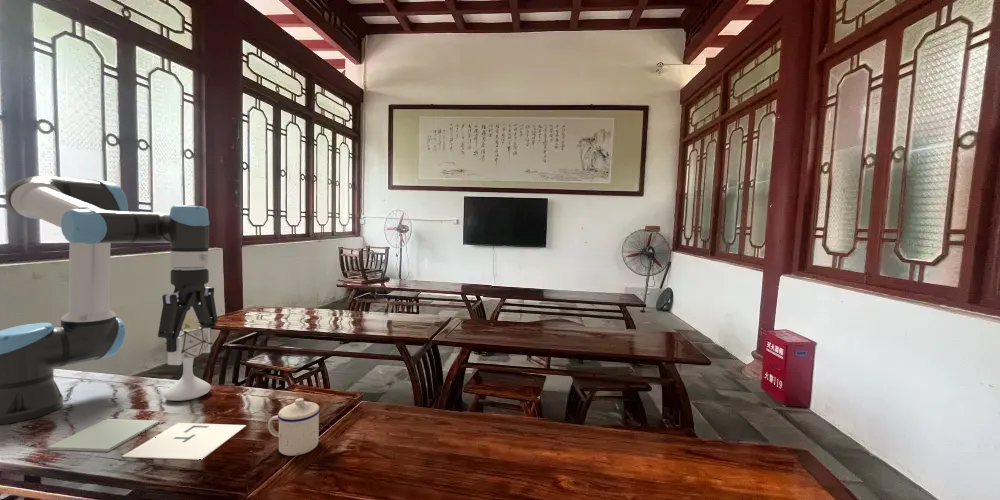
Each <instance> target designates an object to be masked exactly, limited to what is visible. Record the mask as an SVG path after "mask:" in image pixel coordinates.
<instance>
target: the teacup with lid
mask: <svg viewBox="0 0 1000 500" xmlns="http://www.w3.org/2000/svg"><path fill="white" fill-rule="evenodd" d="M320 412H321V408H320V406H319V404H317V403H315V402H311V401H306V400H305V399H304V397H299V398H296V399H295V400H294V402H293V403H291V404H288V405H285V406H283V407H282V408H281V409H280V410H279V412H278V414H277V415H273V416H272V417H271V418H270V419H269V420H268V422H267V428H268V431H269V433H270V434H271V435H272V436H274V437H278V452H279V453H280V454H282V455H284V456H289V457H290V456H300V455H304V454H307V453H309V452H311V451H313V450H314V449H315V448H317V446H318V445H319V441H320V440H319V435H320V434H319V433H320V430H319V428H320V427H319V426H320V425H319V424H320V421H319V420H320V417H319V416H320ZM276 420H278V431H277V430H276V428H275V427H274V422H273V421H276Z"/></svg>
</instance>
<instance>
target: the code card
mask: <svg viewBox="0 0 1000 500" xmlns="http://www.w3.org/2000/svg"><path fill="white" fill-rule="evenodd" d="M245 427H247V425H246V424H227V423H226V424H223V423H221V424H219V423H197V422H196V423H195V422H193V423H192V422H191V423H190V422H187V423H186V422H177V423H175V424H174V425H172V426H171V427H169V428H167V429H166V430H164V431H162V432H160V433H159V434H157V435H156V436H154V437H152V438H150V439H149V440H147V441H145V442H143V443H142V444H140V445H139V446H137V447H135V448H134V449H132V450H130V451H128V452H127V453H125V454H123V455H121V458H129V459H130V458H132V459H133V458H135V459H160V460H161V459H164V460H167V459H168V460H188V461H190V460H191V461H192V460H193V461H195V460H196V461H202V460H203V458H204V459H205V458H206V457H207V456H209V455H210V454H211V453H213V452H214V451H215V450H216V449H218V448H219V447H221V446H222V445H223V444H225V443H226V442H227V441H228V440H230V439H231V438H232V437H234V436H236V435H237V434H238V433H239V432H240V431H242V430H243V429H245ZM155 437H156V438H155ZM199 459H201V460H199Z"/></svg>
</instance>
